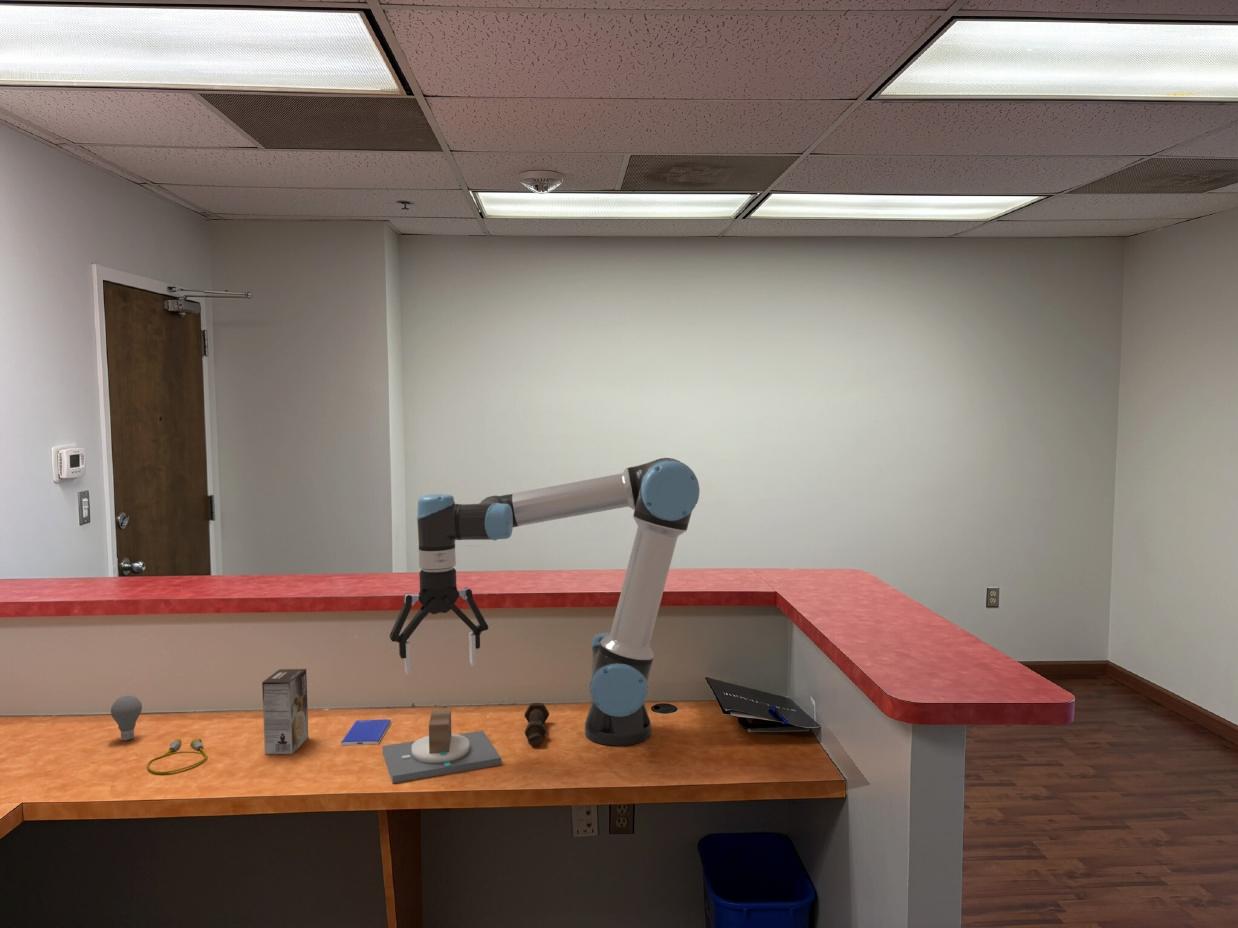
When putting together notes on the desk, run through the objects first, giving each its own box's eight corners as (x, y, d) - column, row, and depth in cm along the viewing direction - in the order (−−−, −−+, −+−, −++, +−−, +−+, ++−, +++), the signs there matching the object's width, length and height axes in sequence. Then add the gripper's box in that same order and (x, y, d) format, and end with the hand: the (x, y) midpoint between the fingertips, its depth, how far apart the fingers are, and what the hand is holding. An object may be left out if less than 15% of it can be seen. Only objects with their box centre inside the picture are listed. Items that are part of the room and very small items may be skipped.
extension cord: (229, 747, 181) (229, 738, 181) (183, 778, 165) (183, 769, 165) (178, 744, 182) (178, 735, 182) (128, 775, 167) (128, 766, 167)
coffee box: (280, 737, 185) (278, 668, 184) (309, 737, 185) (307, 668, 184) (263, 754, 176) (261, 681, 175) (293, 754, 176) (291, 681, 175)
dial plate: (483, 736, 185) (482, 729, 185) (501, 764, 170) (501, 756, 170) (382, 752, 177) (382, 744, 177) (392, 783, 162) (392, 774, 162)
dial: (409, 743, 177) (408, 710, 177) (465, 736, 181) (464, 703, 181) (413, 766, 166) (413, 730, 165) (473, 758, 170) (472, 723, 169)
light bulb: (105, 742, 182) (103, 698, 182) (129, 732, 188) (127, 690, 187) (125, 746, 180) (124, 701, 180) (149, 736, 186) (147, 693, 185)
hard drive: (355, 719, 193) (340, 740, 181) (390, 718, 193) (378, 739, 181) (355, 726, 193) (341, 747, 181) (390, 725, 194) (378, 746, 181)
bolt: (531, 756, 179) (533, 728, 194) (551, 745, 179) (552, 717, 194) (518, 735, 178) (521, 708, 193) (538, 723, 178) (539, 697, 193)
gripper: (378, 577, 163) (382, 681, 164) (500, 566, 172) (503, 664, 174) (373, 571, 170) (377, 671, 171) (491, 560, 179) (494, 655, 181)
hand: (440, 668), depth 172 cm, fingers open, 13 cm apart
